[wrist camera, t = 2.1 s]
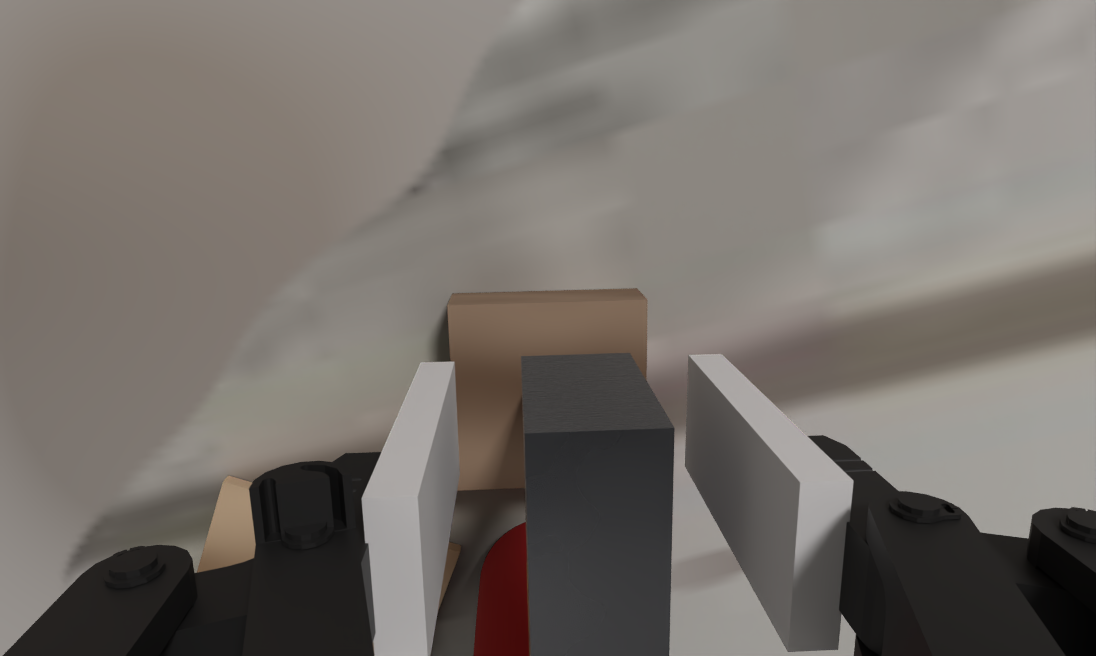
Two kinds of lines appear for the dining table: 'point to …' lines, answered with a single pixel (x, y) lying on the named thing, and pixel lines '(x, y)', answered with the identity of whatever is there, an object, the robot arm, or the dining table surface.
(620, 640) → the t key
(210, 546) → the mat
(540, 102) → the dining table surface
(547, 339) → the latch housing
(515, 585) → the beverage can
